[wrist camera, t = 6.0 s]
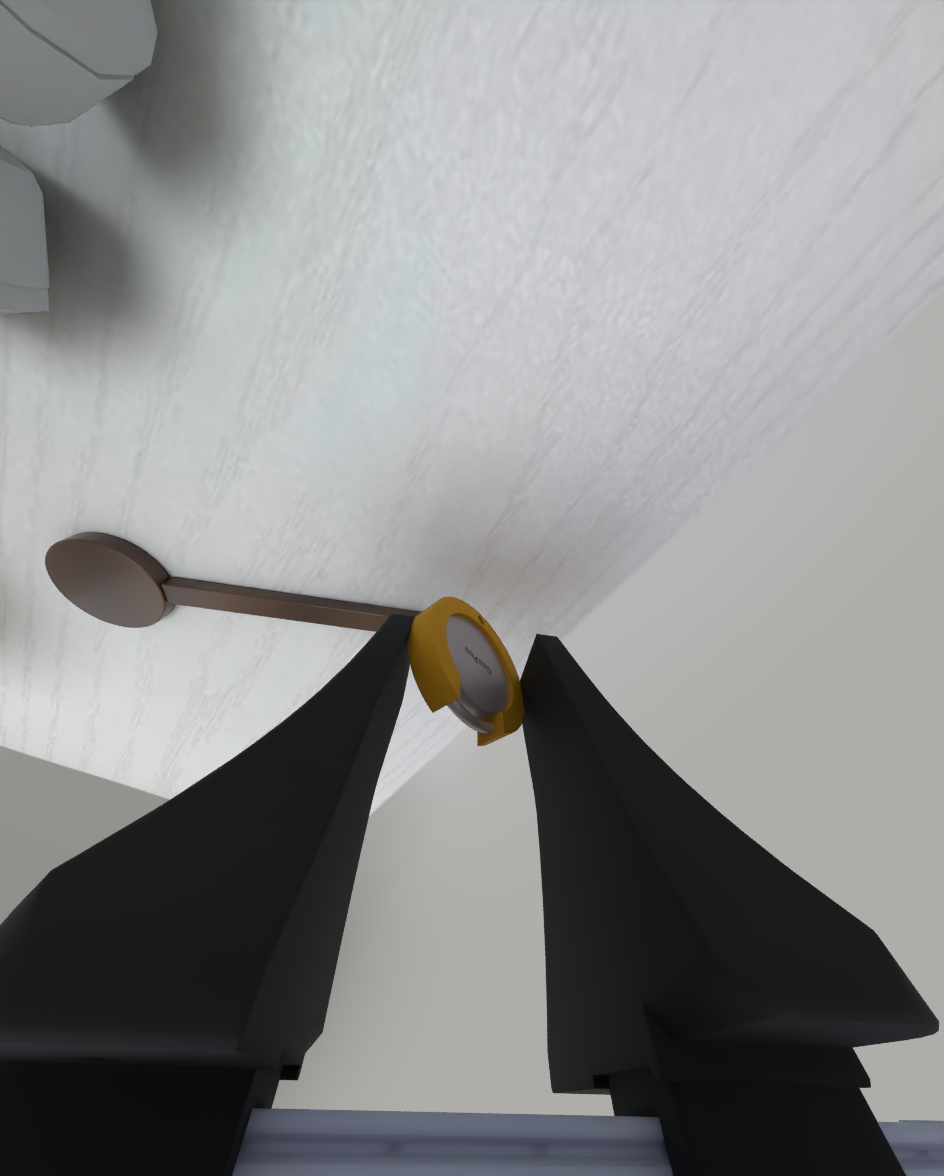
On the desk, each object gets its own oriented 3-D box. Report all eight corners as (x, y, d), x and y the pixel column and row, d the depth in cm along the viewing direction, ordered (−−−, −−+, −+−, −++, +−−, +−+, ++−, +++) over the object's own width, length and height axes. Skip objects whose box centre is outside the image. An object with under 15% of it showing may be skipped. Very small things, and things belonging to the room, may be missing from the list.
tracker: (516, 650, 12) (532, 757, 8) (498, 661, 12) (506, 768, 9) (439, 573, 10) (421, 668, 7) (420, 588, 10) (394, 685, 7)
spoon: (465, 587, 17) (465, 596, 16) (452, 659, 19) (451, 669, 19) (42, 523, 15) (21, 530, 14) (90, 611, 18) (74, 620, 17)
